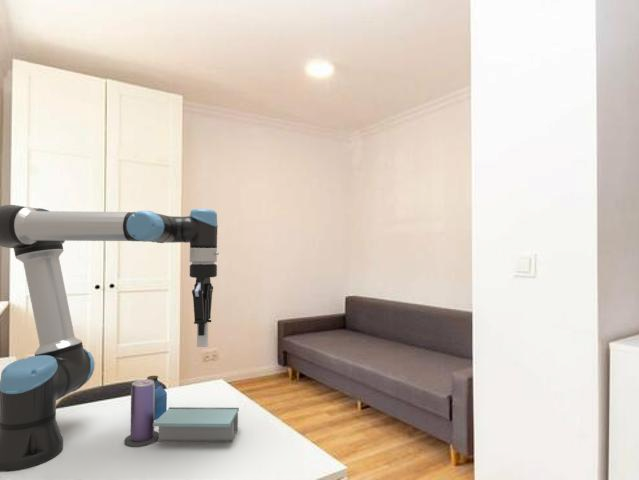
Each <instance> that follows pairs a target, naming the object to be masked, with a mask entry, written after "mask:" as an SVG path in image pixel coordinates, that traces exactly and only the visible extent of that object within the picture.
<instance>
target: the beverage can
mask: <svg viewBox="0 0 639 480" xmlns="http://www.w3.org/2000/svg"><path fill="white" fill-rule="evenodd" d="M154 407H155V384H154V380H151V379H147V378H145V379H138V380H135V381H133V382H131V387H130V432H129V435H130V438H131V439H132V441H134V442H143V441H147V440H149V439H151V438H152V437H153V435H154V431H155V427H153V423H154V422H155V420H154Z"/></svg>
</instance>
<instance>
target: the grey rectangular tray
mask: <svg viewBox="0 0 639 480" xmlns="http://www.w3.org/2000/svg"><path fill="white" fill-rule="evenodd" d="M238 431H239V412H238V413H237V415H236V416H235V418H234V420H233V422H232V423H231V425H230V427H158V432H159V440H158V442H159V443H233V442H234V440H235V438H236V435H237V433H238Z"/></svg>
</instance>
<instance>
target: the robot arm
mask: <svg viewBox="0 0 639 480" xmlns="http://www.w3.org/2000/svg"><path fill="white" fill-rule="evenodd" d="M218 227H219V226H218V214H217V212H216V210H213V209H207V208H197V209H196V208H195V209H194V208H193V209H191V210H190V213H189V216H171V215H165V214H162V213H161V214H160V213H157V212H154V211H153V210H152V211H151V210H139V211H138V210H137V211H132V212H131V211H65V210H64V211H63V210H62V211H59V210H58V211H55V210H53V211H52V210H49V209H44V208H39V207H38V208H35V207H31V206H22V205H16V204H4V205H3V204H2V205H0V247H2V248H7V249H13V252H14V257H15V259H16V260H18V261H20V262H22V263H23V267H24V268H23V269H24V273H25V277H26V283H27V289H28V293H29V298H30V303H31V304H30V305H31V309H32V313H33V314H32V315H33V318H34V324H35V329H36V333H37V339H38V344H39V346H38V348H37V349H36V351H35V352H34V355H33V356H28V357H25V358H21V359H17V360H14V361H13V362H11V363H9V364H8V365H6V366H5V367H4V368H3V369H2V370H1V373H0V471H1V472H2V471H5V472H6V471H7V472H8V471H16V470H22V469H27V468H30V467H35V466H38V465H40V464H43V463H45V462H47V461H50V460H51V459H53V458H55V457H56V456H57V455H59V454H60V453H62V451H63V449H64V437H63V435H62V433H61V430H60V426H59V424H58V421H57V418H56V415H57V401H58V400H60V399H62V398H64V397H66V396H67V395H69V394H71V393H74V392H76V391H77V390H79V389H81V388H82V387H83V386H84V385H86V384H87V383H88V382H89V380H91V378H92V376H93V375H94V371H95V358H94V357H93V355H92V353H91V351H88V350H87V348H84V345H83V341H82V340H81V339H79V338H77V336H76V335H75V333H74V332H75V331H74V327H73V321H72V317H71V312H70V308H69V307H70V306H69V303H68V296H67V291H66V287H65V282H64V277H63V276H64V275H63V272H62V266H61V260H60V256H61V255H62V253H64V246H63V244H64V243H65V242H66V241H67V242H69V241H70V242H71V241H73V242H75V241H76V242H81V241H82V242H88V241H89V242H90V241H91V242H96V241H97V242H146V243H147V242H149V243H157V244H164V243H165V244H166V243H167V244H169V243H172V244H173V243H175V244H176V243H177V244H178V243H189V262H190V265H189V277H190V278H195V284H194V289H192V290H191V294H192V300H193V313H194V314H193V315H194V316H193V317H194V321H193V324H194V325H196V326H197V327H196V331H197V332H196V334H197V335H196V347H197V348H199V347H200V348H207V347H209V323H212V319H211V317H212V316H211V315H212V314H211V313H212V301H213V300H212V299H213V291H214V286H213V284H212V283H211V278H215V277H217V276H218V265H217V264H216V262H217V260H218V255H219V254H220V252H219V251H218V249H217V248H218Z"/></svg>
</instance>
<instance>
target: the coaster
mask: <svg viewBox="0 0 639 480" xmlns="http://www.w3.org/2000/svg"><path fill="white" fill-rule="evenodd" d="M123 442H124V443H123V444H124V445H125V446H127V447H131V448H141V447H142V448H143V447H146V446H150V445H152V444H154V443H156V442H159V431H156V430H154V435H153V437H152V438H151V439H149V440H147V441H143V442H134V441H132V439H131V438H130V434H129V435H128V436H126V437H125V438H124V440H123Z"/></svg>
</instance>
